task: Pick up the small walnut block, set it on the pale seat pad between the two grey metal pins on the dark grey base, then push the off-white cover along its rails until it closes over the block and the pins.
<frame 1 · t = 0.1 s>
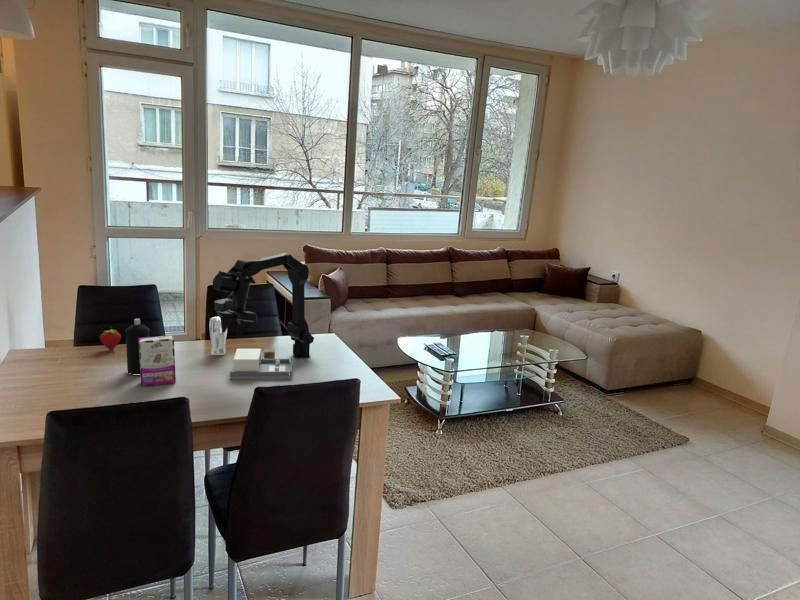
hand: (230, 334, 196), 15 cm above the table, tool pointing down, fingers open, 9 cm apart
walnut block: (269, 361, 216), on the table
strawberry: (111, 350, 216), on the table
black bottle: (139, 372, 196), on the table
candy bar box: (158, 383, 187), on the table
housing base: (262, 371, 204), on the table
beer glass: (218, 354, 221), on the table
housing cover: (247, 361, 202), point 4 cm above the table, slide at 0.0 cm
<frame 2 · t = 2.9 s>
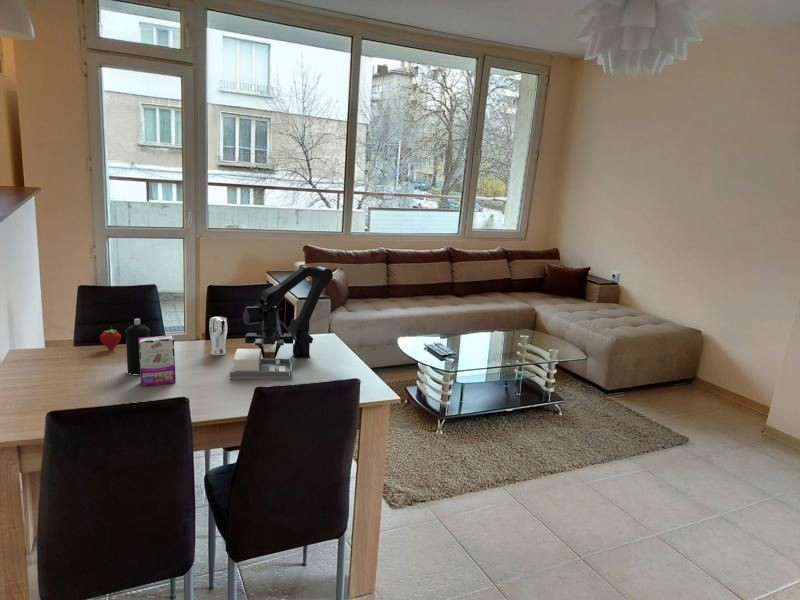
hand: (269, 358, 216), 1 cm above the table, tool pointing down, fingers closed on walnut block, 4 cm apart
walnut block: (269, 360, 216), on the table, touching gripper
everything else where it was.
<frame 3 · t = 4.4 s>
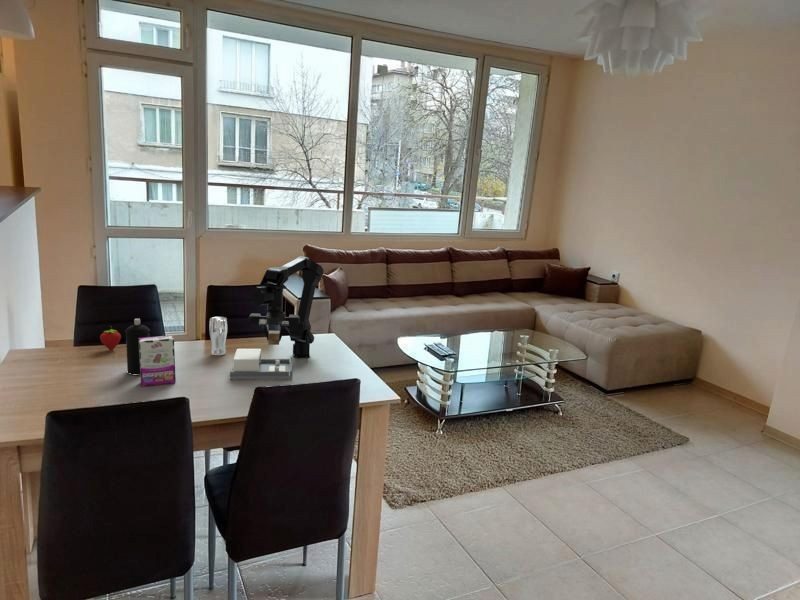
hand: (274, 340, 206), 11 cm above the table, tool pointing down, fingers closed on walnut block, 4 cm apart
walnut block: (273, 343, 206), point 10 cm above the table, touching gripper
everything else where it was.
when the fingers open (4 cm above the table, at t = 6.1 s): walnut block drops 1 cm, resting on housing base.
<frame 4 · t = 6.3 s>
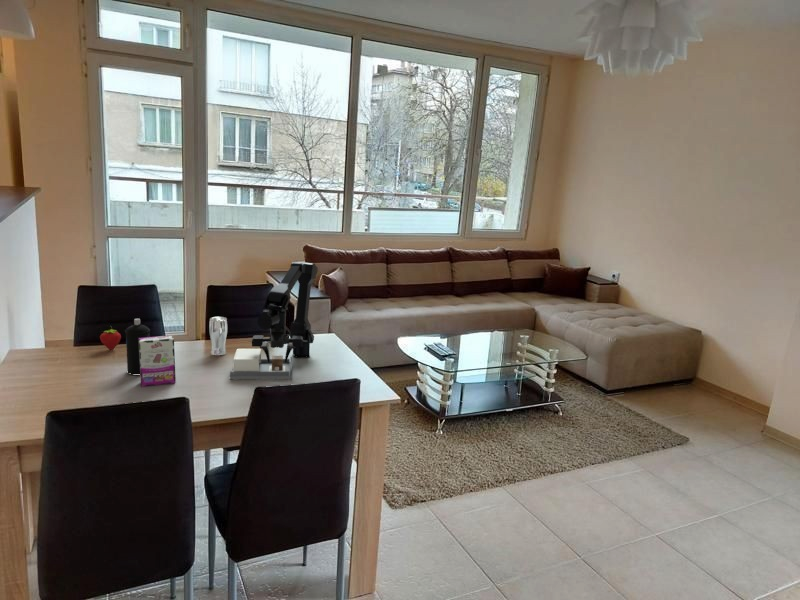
hand: (277, 362, 204), 4 cm above the table, tool pointing down, fingers open, 6 cm apart
walnut block: (277, 368, 205), point 1 cm above the table, touching housing base
everything else where it was.
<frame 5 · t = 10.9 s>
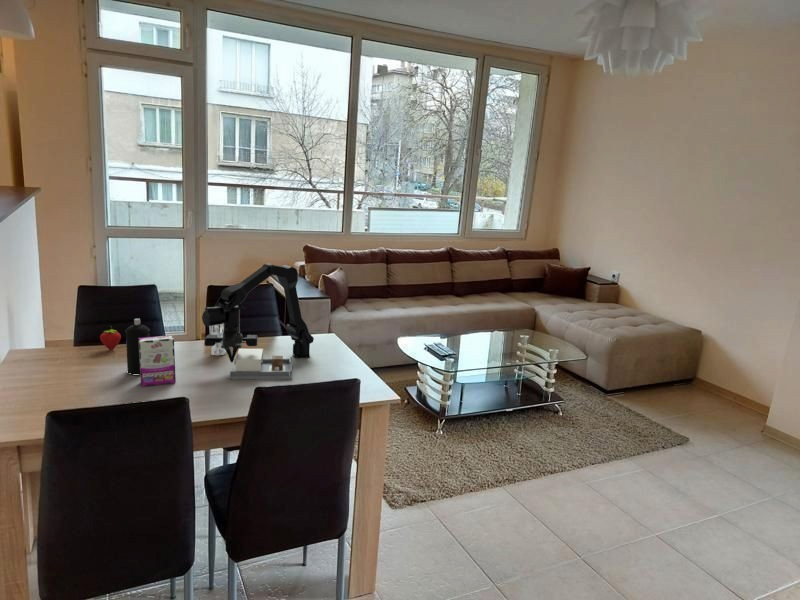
hand: (232, 362, 201), 4 cm above the table, tool pointing down, fingers closed
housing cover: (249, 361, 202), point 4 cm above the table, slide at 0.8 cm, touching gripper
everything else where it was.
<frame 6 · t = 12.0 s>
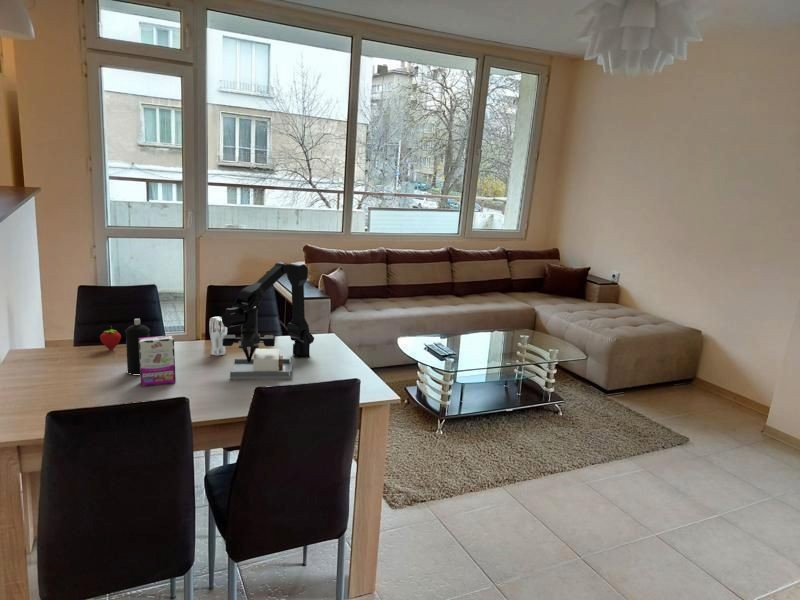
hand: (249, 362, 202), 4 cm above the table, tool pointing down, fingers closed
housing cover: (266, 361, 203), point 4 cm above the table, slide at 7.1 cm, touching gripper
everything else where it was.
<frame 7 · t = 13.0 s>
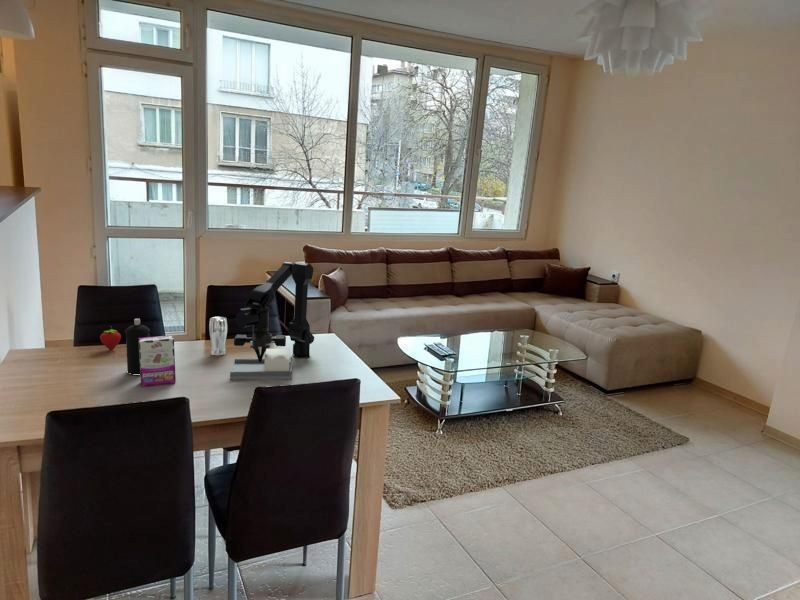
hand: (260, 361, 203), 4 cm above the table, tool pointing down, fingers closed
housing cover: (277, 361, 204), point 4 cm above the table, slide at 11.0 cm, touching gripper
everything else where it was.
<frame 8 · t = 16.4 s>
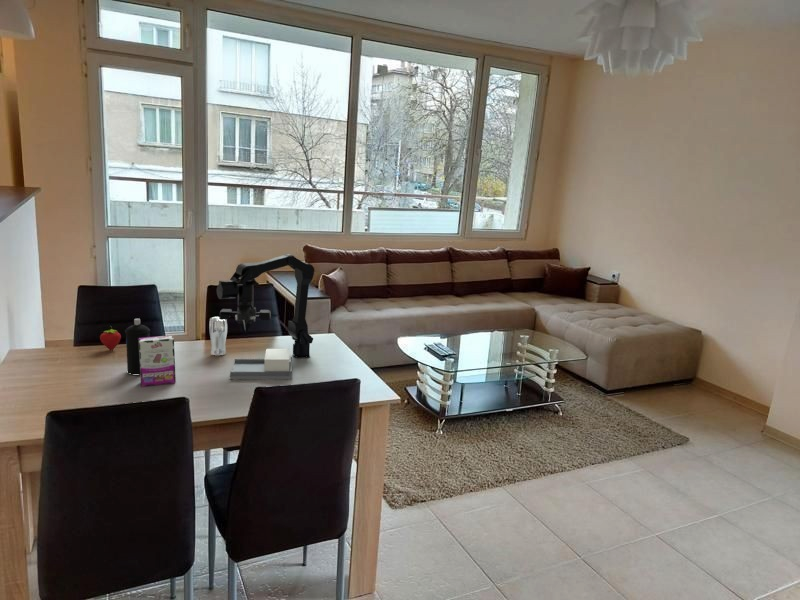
hand: (245, 335, 207), 12 cm above the table, tool pointing down, fingers closed
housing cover: (277, 361, 204), point 4 cm above the table, slide at 11.0 cm
everything else where it was.
at the end: walnut block 0.0 cm from the target spot on the housing base, point 1.3 cm above the housing base's base; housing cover slide at 11.0 cm; walnut block tilted 0° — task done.
